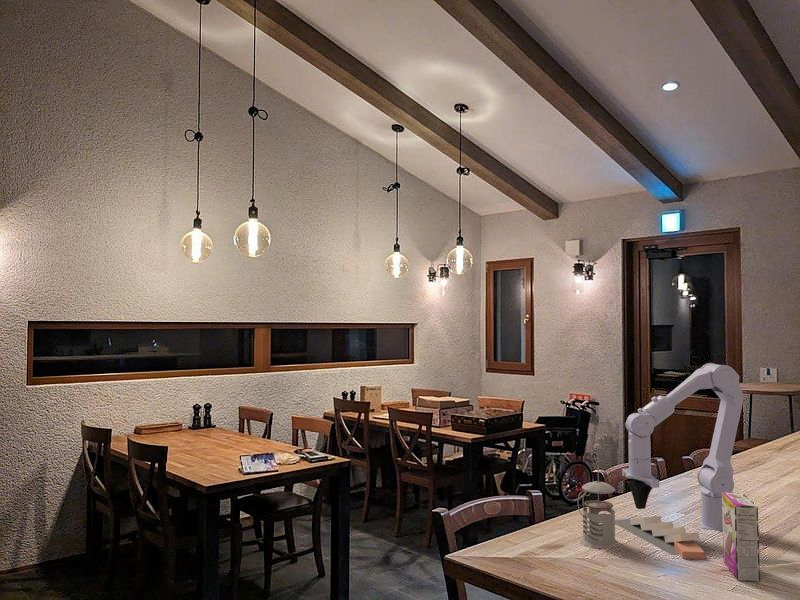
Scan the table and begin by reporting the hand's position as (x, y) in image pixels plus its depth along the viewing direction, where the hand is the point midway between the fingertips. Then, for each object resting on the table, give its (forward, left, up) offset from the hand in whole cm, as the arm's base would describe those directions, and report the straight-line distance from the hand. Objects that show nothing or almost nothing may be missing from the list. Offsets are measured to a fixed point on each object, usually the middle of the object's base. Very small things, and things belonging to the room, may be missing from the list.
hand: (640, 508), depth 183 cm
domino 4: (-7, +12, -4) cm, 15 cm away
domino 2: (-2, +3, -4) cm, 5 cm away
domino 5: (-9, +17, -4) cm, 20 cm away
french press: (+11, +16, -5) cm, 20 cm away
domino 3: (-5, +8, -4) cm, 10 cm away
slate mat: (-4, +7, -5) cm, 9 cm away
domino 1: (+1, -1, -4) cm, 4 cm away
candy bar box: (-20, +29, -5) cm, 35 cm away
